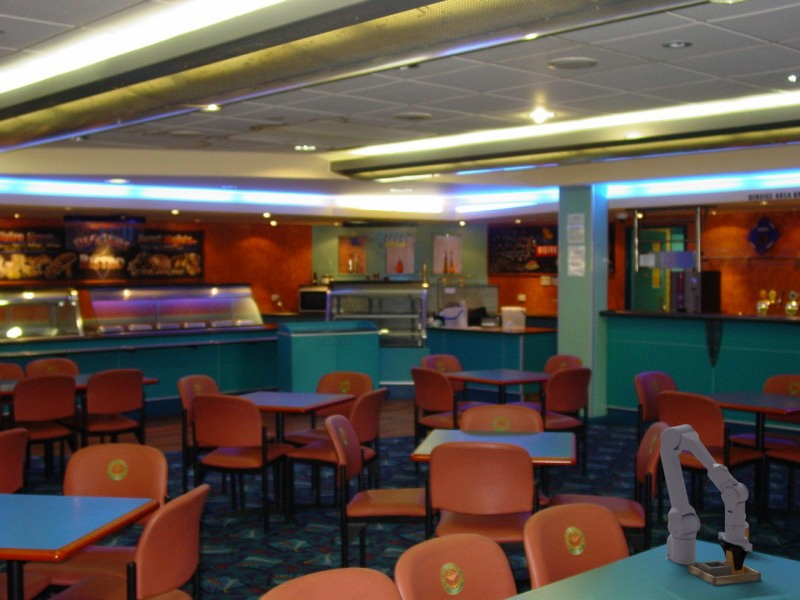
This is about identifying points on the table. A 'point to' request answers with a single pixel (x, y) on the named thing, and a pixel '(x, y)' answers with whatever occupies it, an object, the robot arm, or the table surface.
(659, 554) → the table surface
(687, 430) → the robot arm
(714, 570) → the inlet socket
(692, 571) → the walled box
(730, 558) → the plug
